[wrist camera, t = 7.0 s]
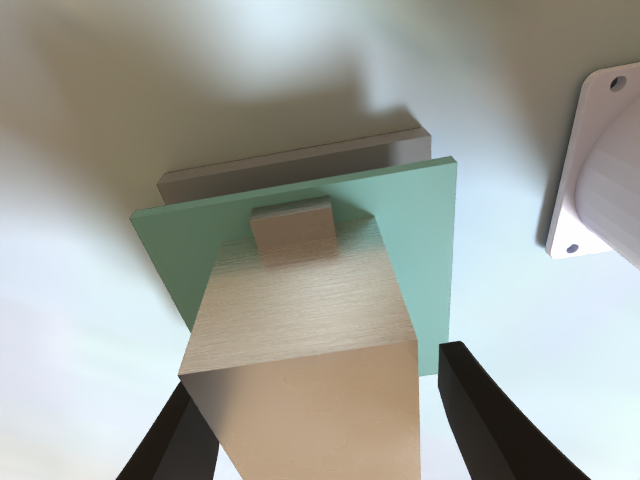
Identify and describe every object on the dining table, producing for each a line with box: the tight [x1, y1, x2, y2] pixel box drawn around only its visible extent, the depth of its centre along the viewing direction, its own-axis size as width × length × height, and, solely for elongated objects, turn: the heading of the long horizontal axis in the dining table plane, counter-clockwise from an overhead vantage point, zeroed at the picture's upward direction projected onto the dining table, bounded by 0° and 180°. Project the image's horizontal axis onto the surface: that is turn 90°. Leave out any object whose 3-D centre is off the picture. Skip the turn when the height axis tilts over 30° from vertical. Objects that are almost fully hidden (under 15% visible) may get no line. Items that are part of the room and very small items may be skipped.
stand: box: [130, 127, 457, 376], centre depth 15 cm, size 10×10×4 cm
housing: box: [178, 195, 421, 480], centre depth 12 cm, size 5×10×5 cm, turn 10°
